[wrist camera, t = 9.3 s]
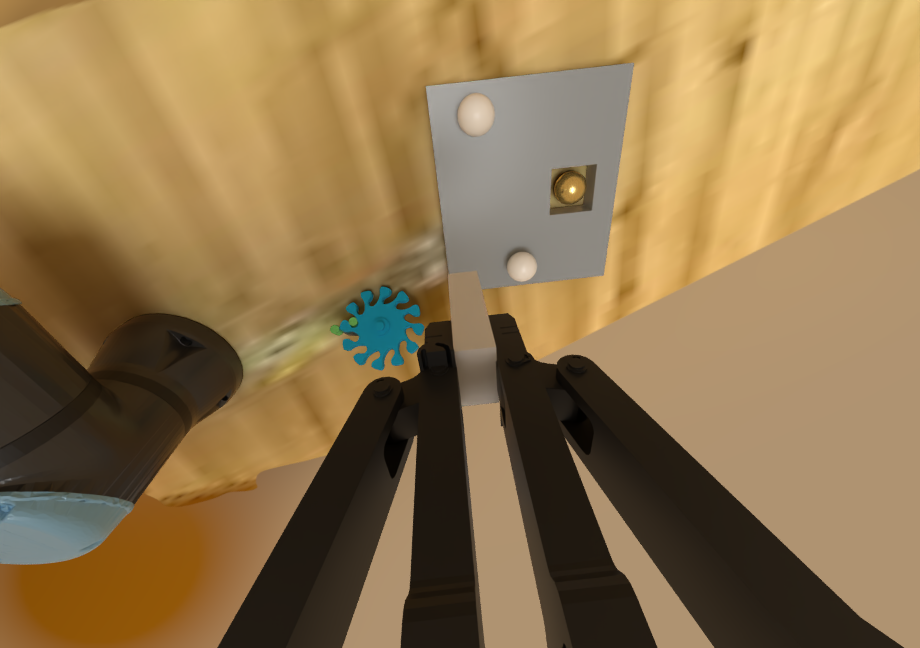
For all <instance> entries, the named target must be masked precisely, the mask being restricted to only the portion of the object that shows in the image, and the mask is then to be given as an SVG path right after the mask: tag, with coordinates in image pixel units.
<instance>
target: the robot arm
mask: <svg viewBox="0 0 920 648" xmlns="http://www.w3.org/2000/svg"><path fill="white" fill-rule="evenodd" d="M448 285H449V298H450V310H451V321H442V322H433V323H430V324H429V325H428V326H427V328H426V329H425V344H424V345H422V346H421V347H420V348H419V349H418V352H417V357H418V362H419V366H420V371H421V372H420V373H419V374H418V375H417V376H415V377H414V378H412V379H410V380H407V381H404V382H402V383H400V381H399V380H397V379H396V378H393V377H382V378H379V379H376V380H374V381H372V382H371V383H369V384H368V386H367V387H366V388H365V389H364V391H363V393H362V395H361V396H360V398H359V400H358V402H357V404H356V405H355V407H354V409H353V411H352V412H351V414H350V416H349V418H348V419H347V421H346V423H345V425H344V426H343V428H342V430H341V432H340V433H339V435H338V437H337V439H336V440H335V442H334V444H333V446H332V447H331V449H330V451H329V453H328V454H327V456H326V458H325V460H324V461H323V463H322V465H321V467H320V468H319V470H318V472H317V474H316V476H315V477H314V479H313V481H312V483H311V484H310V486H309V488H308V490H307V491H306V493H305V495H304V497H303V498H302V500H301V502H300V504H299V505H298V507H297V509H296V511H295V512H294V514H293V516H292V518H291V519H290V521H289V523H288V525H287V526H286V528H285V530H284V532H283V533H282V535H281V537H280V539H279V540H278V542H277V544H276V546H275V547H274V549H273V551H272V553H271V555H270V556H269V558H268V560H267V562H266V563H265V565H264V567H263V569H262V570H261V572H260V574H259V576H258V577H257V579H256V581H255V583H254V585H253V586H252V588H251V590H250V591H249V593H248V595H247V597H246V598H245V600H244V602H243V604H242V605H241V607H240V609H239V611H238V612H237V614H236V616H235V618H234V620H233V621H232V623H231V625H230V627H229V628H228V630H227V632H226V634H225V635H224V637H223V639H222V641H221V643H220V644H219V646H218V648H342V646H343V643H344V641H345V637H346V635H347V632H348V629H349V626H350V623H351V620H352V617H353V614H354V611H355V609H356V606H357V603H358V600H359V597H360V594H361V591H362V588H363V585H364V582H365V580H366V577H367V574H368V571H369V568H370V565H371V562H372V559H373V556H374V553H375V551H376V548H377V545H378V542H379V539H380V536H381V533H382V530H383V527H384V524H385V521H386V519H387V516H388V513H389V510H390V507H391V504H392V501H393V498H394V495H395V492H396V490H397V487H398V484H399V481H400V478H401V475H402V472H403V469H404V466H405V463H406V461H407V458H408V455H409V452H410V449H411V446H412V443H413V439H414V436H416V435H417V454H416V475H415V496H414V515H413V536H412V559H411V577H410V578H411V579H410V590H409V594H408V596H407V598H406V600H405V604H404V610H403V620H402V635H401V648H485V644H484V635H483V625H482V615H481V604H480V594H479V583H478V572H477V562H476V551H475V541H474V530H473V519H472V509H471V499H470V488H469V477H468V466H467V456H466V446H465V434H464V424H463V414H462V406H471V405H479V404H489V403H497V402H499V401H500V417H501V426H503V428H504V432H505V437H506V442H507V447H508V452H509V456H510V461H511V466H512V470H513V475H514V480H515V485H516V490H517V495H518V499H519V504H520V508H521V513H522V518H523V523H524V528H525V532H526V537H527V542H528V547H529V552H530V556H531V561H532V566H533V571H534V575H535V580H536V585H537V589H538V595H539V599H540V604H541V609H542V614H543V618H544V624H545V631H546V640H547V647H548V648H657V645H656V643H655V640H654V638H653V636H652V633H651V631H650V628H649V626H648V623H647V621H646V618H645V616H644V614H643V611H642V609H641V606H640V604H639V601H638V599H637V596H636V594H635V592H634V590H633V588H632V586H631V584H630V582H629V580H628V579H627V578H626V576H625V575H624V574H623V573H622V572H620V571H619V570H617V568H616V567H615V565H614V563H613V561H612V558H611V556H610V553H609V551H608V548H607V545H606V543H605V540H604V538H603V535H602V533H601V530H600V527H599V525H598V522H597V520H596V517H595V515H594V512H593V509H592V507H591V504H590V502H589V499H588V497H587V494H586V491H585V489H584V486H583V484H582V481H581V478H580V476H579V474H578V471H577V468H576V466H575V463H574V461H573V458H572V455H571V453H570V450H569V448H568V445H567V442H566V440H565V438H566V439H567V441H568V442H569V444H570V445H571V446H572V448H573V449H574V451H575V452H576V454H577V455H578V456H579V458H580V459H581V461H582V462H583V463H584V464H585V466H586V468H587V469H588V470H589V472H590V473H591V475H592V476H593V477H594V479H595V480H596V482H597V483H598V485H599V486H600V487H601V489H602V490H603V492H604V493H605V494H606V496H607V497H608V498H609V500H610V501H611V503H612V504H613V506H614V507H615V508H616V510H617V511H618V513H619V514H620V515H621V517H622V518H623V520H624V521H625V523H626V524H627V525H628V527H629V528H630V529H631V531H632V532H633V534H634V535H635V537H636V538H637V539H638V541H639V542H640V544H641V545H642V546H643V548H644V549H645V550H646V552H647V553H648V555H649V556H650V558H651V559H652V560H653V562H654V563H655V565H656V566H657V568H658V569H659V570H660V572H661V573H662V574H663V576H664V577H665V578H666V580H667V582H668V583H669V584H670V586H671V587H672V588H673V590H674V591H675V593H676V594H677V595H678V597H679V598H680V600H681V601H682V603H683V604H684V605H685V607H686V608H687V610H688V611H689V612H690V614H691V615H692V617H693V618H694V619H695V621H696V622H697V624H698V625H699V627H700V628H701V629H702V631H703V632H704V634H705V635H706V636H707V638H708V639H709V641H710V642H711V643H712V645H713V646H714V648H904V647H902V646H901V645H899V644H898V643H897V642H895V641H894V640H892V639H891V638H889V637H888V636H886V635H885V634H884V633H882V632H881V631H879V630H878V629H876V628H875V627H873V626H872V625H871V624H869V623H868V622H866V621H865V620H863V619H862V618H860V617H859V616H858V615H857V614H856V613H855V612H854V611H853V610H852V609H851V608H850V607H849V606H848V605H847V604H846V603H845V602H844V601H843V600H842V599H841V598H840V597H839V596H837V595H836V594H835V593H834V592H833V591H832V590H831V589H830V588H829V587H828V586H827V585H826V584H825V583H824V582H822V580H821V579H820V578H819V577H818V576H817V575H815V574H814V573H813V572H812V571H811V570H810V569H809V568H808V567H807V566H806V565H805V564H804V563H803V562H802V561H801V560H800V559H799V558H797V556H796V555H795V554H793V553H792V552H791V551H790V550H789V549H788V548H787V547H786V546H785V545H784V544H783V543H782V542H781V541H780V540H779V539H778V538H777V537H776V536H775V535H774V534H773V533H772V532H770V530H768V529H767V528H766V527H765V526H764V525H763V524H762V523H761V522H760V521H759V520H758V519H757V518H756V517H755V516H754V515H753V514H752V513H751V512H750V511H749V510H747V509H746V508H745V507H744V506H743V505H742V504H741V503H740V502H739V501H738V500H737V499H736V498H735V497H734V496H733V495H732V494H731V493H729V491H728V490H727V489H725V488H724V487H723V486H722V485H721V484H720V483H719V482H718V481H717V480H716V479H715V478H714V477H713V476H712V475H711V474H710V473H709V472H708V471H707V470H706V469H705V468H704V467H702V465H700V464H699V463H698V462H697V461H696V460H695V459H694V458H693V457H692V456H691V455H690V454H689V453H688V452H687V451H686V450H685V449H684V448H683V447H682V446H681V445H680V444H679V443H677V442H676V441H675V440H674V439H673V438H672V437H671V436H670V435H669V434H668V433H667V432H666V431H665V430H664V429H663V428H662V427H661V426H660V425H659V424H658V423H657V422H656V421H654V420H653V419H652V418H651V417H650V416H649V415H648V414H647V413H646V412H645V411H644V410H643V409H642V408H641V407H640V406H639V405H638V404H637V403H636V402H635V401H633V399H631V398H630V397H629V396H628V395H627V394H626V393H625V392H624V391H623V390H622V389H621V388H620V387H619V386H618V385H617V384H616V383H615V382H614V381H613V380H612V379H610V377H608V376H607V375H606V374H605V373H604V372H603V371H602V370H601V369H600V368H599V367H598V366H597V365H596V364H595V363H594V362H593V361H591V360H590V359H588V358H586V357H583V356H581V355H567V356H564V357H562V358H560V359H559V361H558V362H557V365H556V364H547V363H542V362H539V361H536V360H534V358H533V356H532V355H531V354H530V353H528V352H527V350H526V348H525V345H524V342H523V340H522V337H521V334H520V333H519V329H518V327H517V324H516V321H515V319H514V318H513V317H512V316H511V315H509V314H508V313H505V314H497V315H488V313H487V309H486V305H485V301H484V297H483V293H482V289H481V285H480V281H479V278H478V274H477V271H471V272H462V273H453V274H448ZM20 304H22V302H21V301H20V300H18V299H16V298H12V297H11V296H10V295H8V294H7V293H6V292H5V291H4V290H2V289H1V288H0V563H2V564H45V563H53V562H60V561H65V560H69V559H73V558H76V557H79V556H82V555H84V554H86V553H88V552H90V551H92V550H93V549H95V548H96V547H97V546H99V545H100V544H101V543H102V542H103V541H104V540H105V539H106V538H107V537H108V535H109V534H110V533H111V532H112V531H113V530H114V528H115V527H116V526H117V525H118V524H119V523H120V521H121V520H122V519H123V518H124V517H125V516H126V515H127V514H128V513H130V512H131V511H132V509H133V507H134V504H135V503H136V502H137V500H138V499H139V497H140V496H141V495H142V493H143V492H144V491H145V489H146V488H147V487H148V485H149V484H150V483H151V481H152V480H153V478H154V477H155V476H156V474H157V473H158V472H159V470H160V469H161V468H162V466H163V465H164V464H165V462H166V461H167V460H168V458H169V457H170V456H171V454H172V453H173V452H174V450H175V449H176V448H177V446H178V445H179V444H180V442H181V441H182V439H183V438H184V437H185V435H186V434H187V433H188V431H189V430H190V429H191V428H192V427H193V426H195V425H196V424H198V423H199V422H201V421H202V420H203V419H205V418H206V417H208V416H209V415H211V414H212V413H213V412H215V411H216V410H218V409H219V408H221V407H222V406H223V405H225V404H226V403H227V402H228V401H229V400H230V399H231V398H232V396H233V395H234V393H235V392H236V390H237V389H238V388H239V386H240V384H241V381H242V376H243V372H242V366H241V363H240V360H239V358H238V356H237V355H236V353H235V352H234V350H233V349H232V348H231V346H230V345H229V344H228V343H227V342H226V341H225V340H224V339H222V338H221V337H220V336H219V335H217V334H216V333H215V332H213V331H211V330H210V329H208V328H206V327H205V326H203V325H201V324H199V323H196V322H194V321H191V320H188V319H185V318H182V317H178V316H173V315H166V314H148V315H142V316H138V317H135V318H133V319H130V320H129V321H127V322H126V323H124V324H123V325H121V326H120V327H118V328H117V329H116V330H114V331H113V332H112V333H111V334H110V335H109V336H108V337H107V338H106V339H105V341H104V343H103V346H102V347H101V349H100V350H99V352H98V353H97V355H96V356H95V358H94V359H93V361H92V363H91V364H90V366H89V368H88V369H87V370H86V369H85V368H84V367H83V366H82V365H81V364H80V363H79V362H78V361H77V360H76V359H74V358H73V357H72V356H71V355H70V354H69V353H68V352H67V351H66V350H65V349H64V348H63V347H62V346H61V345H60V344H59V343H58V342H57V341H56V340H55V339H54V338H53V337H52V336H51V335H50V334H49V333H48V332H47V331H46V330H45V329H44V328H43V327H42V326H41V325H40V324H39V323H38V322H37V321H36V320H35V319H34V318H33V317H32V316H31V315H30V314H29V313H28V312H27V311H26V310H25V309H24V308H23V307H22V306H21V305H20ZM498 396H499V397H498Z"/></svg>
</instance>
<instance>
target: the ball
mask: <svg viewBox="0 0 920 648" xmlns="http://www.w3.org/2000/svg"><path fill="white" fill-rule="evenodd" d="M586 188H587V184H586V180H585V178H584V177H583V175H581V174H580V173H578V172H575V171H570V172H566V173H564V174H562V175H561V176H560V177H559V178H558V179H557V181H556V183H555V187H554V193H555V196H556V198H557V199H558V200H559V201H560V202H561V203H563V204H574V203H576V202H578V201H579V200H581V199H582V197H583V196H584V194H585V192H586Z"/></svg>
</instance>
